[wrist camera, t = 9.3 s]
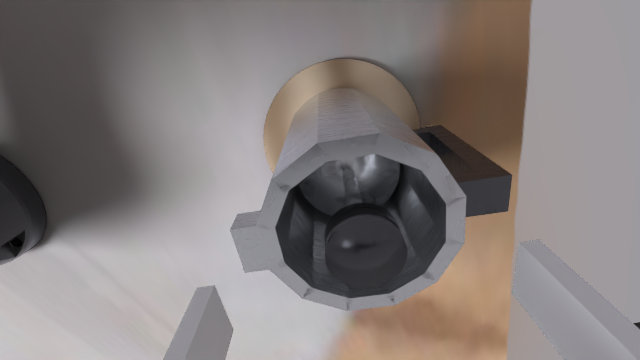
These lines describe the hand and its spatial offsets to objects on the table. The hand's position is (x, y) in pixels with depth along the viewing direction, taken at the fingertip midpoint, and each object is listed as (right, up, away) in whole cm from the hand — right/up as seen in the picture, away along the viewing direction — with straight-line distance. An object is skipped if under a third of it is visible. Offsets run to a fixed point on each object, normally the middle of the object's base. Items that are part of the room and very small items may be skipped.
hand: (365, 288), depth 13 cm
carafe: (0, +8, +18) cm, 20 cm away
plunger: (0, +5, +12) cm, 13 cm away
